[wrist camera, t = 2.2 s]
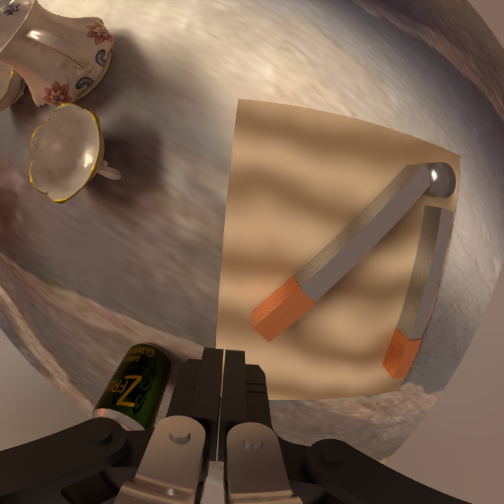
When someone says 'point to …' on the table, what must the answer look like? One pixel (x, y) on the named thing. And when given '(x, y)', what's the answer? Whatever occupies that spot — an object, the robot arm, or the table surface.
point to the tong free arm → (350, 246)
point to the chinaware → (57, 91)
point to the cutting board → (317, 245)
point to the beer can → (136, 388)
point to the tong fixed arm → (419, 291)
